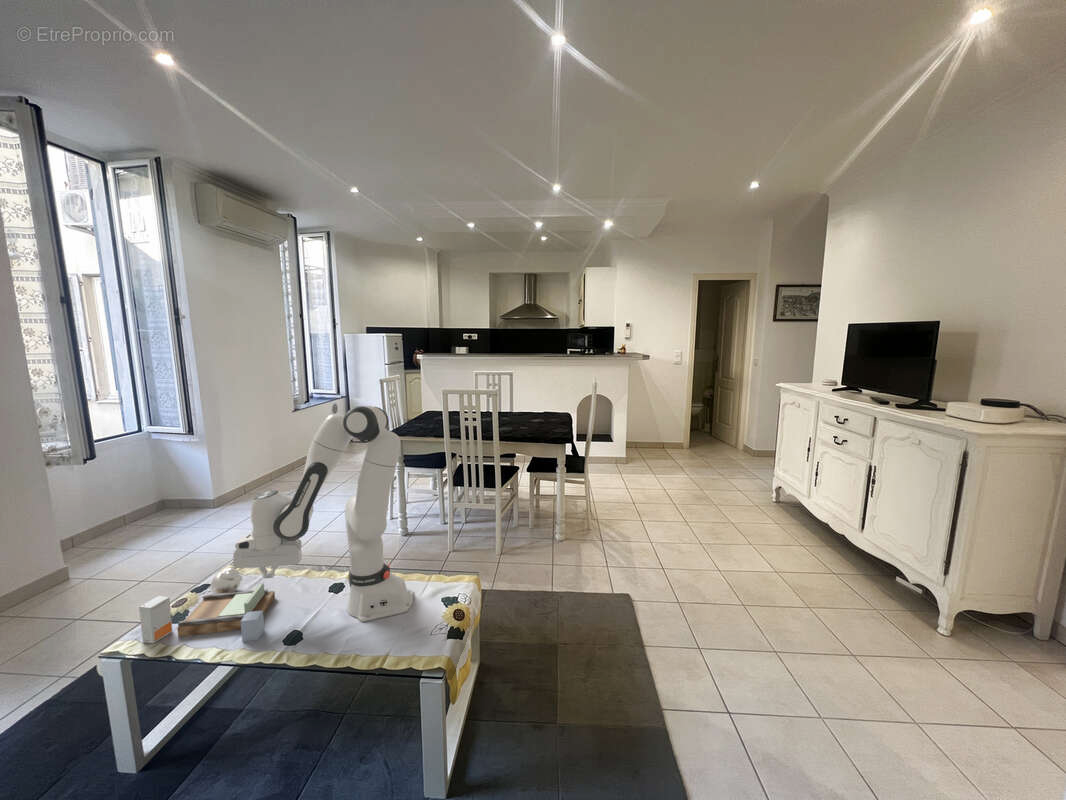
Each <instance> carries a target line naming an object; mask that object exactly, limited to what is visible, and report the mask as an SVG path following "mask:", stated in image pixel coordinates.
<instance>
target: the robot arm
mask: <svg viewBox="0 0 1066 800" xmlns="http://www.w3.org/2000/svg"><path fill="white" fill-rule="evenodd" d="M388 426H389V416H388V414H387V412H386V411H385V410H384V409H382V408H380V407H377V406H371V405H358V406H354V407H352V408H351V409H349V410H348V411H347V412H346V413H345V414H341V413H332V414H330V415H328V416H327V417H326V418H325V419H324V420H323V422H322V423H321V425H320V426H319V428H318V429H317V431H316V432H315V434H314V437H312V438H313V439H312V441H311V443H310V445H309V447H308V448H309V449H308V452H307V455H306V460H305V465H304V469H303V474H302V478H301V480H300V483H299V485H298V487H297V489H296V491H295V494H294V496H290V495H286V494H284V493H282V492H280V491H279V490H268V491H267V490H266V491H264V492H261V493H260V494H257V495H256V496H255V497H254V498H253V499H252V501H251V502H252V503H251V510H250V511H251V513H250V519H251V520H250V521H251V524H252V530H251V533H248V534H245V535H244V536H243V535H242V537H241V538H239V539H238V540H237V542H236V543H235V544H234V546H235V550H234V552H233V558H232V566H233V567H234V569H245V568H246V569H248V568H259V569H258V570H259V572H260V573H262V577H263V579H273V578H274V577H275V575H276V573H275V571H276V570H277V568H278V567H281V566H282V567H283V566H296V565H299V563H301V561H302V558H303V554H302V553H303V552H302V540H301V538H302V537H304V536H305V535H306V534H307V532H308V531H309V527H310V522H311V518H312V516H313V514H314V506H313V505H314V503H315V500H316V498H317V497H318V495H319V492H320V490H321V488H322V487H323V485H324V483H325V482H326V480H327V479H328V478H329V476H330V475H331V474H332V472H333V471H334V470H335V468H336V467H337V466H338V464H339V463H340V461H341V459H342V458H343V456H344V454H345V452H346V450H347V448H348V446H349V444H350V443H351V440H353V438H355V439H357V440H358V441H360V442H361V443H363V444H365V443H366V452H365V454H364V458H363V461H362V465H361V469H360V471H359V475H358V477H357V490H356V494H353V495H351V497H349V498H348V499H347V501H346V503H345V505H344V506H345V507H344V516H345V526H346V527H345V528H346V529H345V530H346V535H347V543H348V550H349V552H348V553H349V571H348V585H349V588H350V589H349V597H348V603H347V607H346V612H347V613H348V615H350V616H352V617H355V618H357V619H358V621H360V622H368V621H373V620H377V619H381V618H386V617H390V616H394V615H399V614H404V613H406V612H408V611H409V610H410V609H411V607H412V605H413V603H414V592H413V590H412V588H410V587H407V585H406V581H405V580H404V579H403V578H402V577H400V576H398V575H396V574H393V573H392V572H391V569H390V568H391V567H390V563H387V564H386V563H385V561H384V543H383V537H382V536H383V535H384V533H385V531H386V530H387V525H388V524H387V516H388V511H389V510H388V509H389V503H390V502H389V501H390V494H391V488H392V483H393V480H394V475H395V472H396V468H397V465H398V462H399V461H398V460H399V457H400V451H401V438H400V437H399V435H397V433H395V432H393V431H390V430H389V429H387V428H388ZM267 567H271V570H267Z"/></svg>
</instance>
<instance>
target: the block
mask: <svg viewBox="0 0 1066 800" xmlns="http://www.w3.org/2000/svg"><path fill="white" fill-rule="evenodd" d="M240 631H241V641H242V643H244V642H252V641H259V639H260V638H261V636H262V635H263V633H264V631H265V622H264V616H263V611H253V612H247V613H246V614H245V616H244V617H243V619H242V620H241V629H240Z"/></svg>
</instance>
